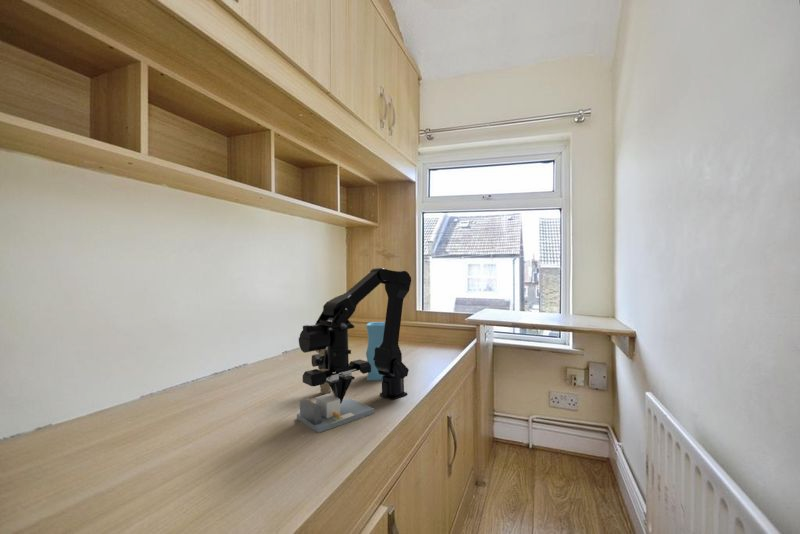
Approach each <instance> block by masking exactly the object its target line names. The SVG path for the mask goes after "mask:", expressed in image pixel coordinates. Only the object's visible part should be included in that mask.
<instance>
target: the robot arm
mask: <svg viewBox="0 0 800 534" xmlns="http://www.w3.org/2000/svg"><path fill="white" fill-rule="evenodd" d="M380 284H383V285H384V289H385V290H384V291H385V292H386V295H387V306H386V312H385V313H386V314H385V320H384V322H385V328H384V336H383V342H382V344H381V345H380V347H379V348H378V347H376V348H375V355H374V359H373V360H374V364H375V366H376V368H377V370H378V373H379V374H380V375H384V376H382V380H381V392H379V396H381V397H382V396H383V397H384V398H386V399H390V400H396V399H399V398H401V397H405V396H408V392H406V391H405V378H406V377H408V375H409V371H410V370H409V368H408V367H407V366H406V365H405V364H404V363H403V361H402V359H403V358H402V357H403V356H402V354H403V353H402V350H401V348H400V345H399V338H400V333H401V332H400V331H401V323H402V314H403V304H404V299H405V298H406V296H407V295H408V293H409V291H410V288H411V284H412V277H411V275H410V274H409V272H408V271H406V270H397V271H396V270H391V269H390V270H389V269H387V268H384V267H376V268H372V269H371V270H370V272H369V273H367V274H366V275H365V276H364V277H363V278H362V279H360V280H359V281H358V282H357V283H355V284H354V285H353V286H352V287H351V288H350V289H348V290H347V291H346V292H345V293H343V294H341V295H338V296H335V297H334V298H332V299H330V300H328V301H326V302H325V304H324V305H323V307H322V312H321V313H320V315H319V317H318V319H317V320H316V322H315V324H311V325H309V324H306V325H302V330H301V332H300V334H299V337H298V344H299V347H300V350H301V352H302V353H312V352H316V351H317V350H322V349H326V348H327V350H325V355H324V356H320V354H319V353H316V354H313V355H311V365H312V367H313V369H310V370H305V371H304V373H303V374H302V383H304V384H305V385H307V386H310V387H317V386H320V385H322V384H324V383H325V382H327V383H328V384H329V385H330V388H331V392H332V393H333V394H332V395H333V396H335V397H337V398H339V399H340V404H341V403H342V400H344V397H345V395H346V393H347V391H348V389H349V387H350V385H351V383H352V381H353V380H355V379H356V378H355V376H353V374H352V373H354V372H357V371H359V372H360V373H361V374H362V375H365V374H368V373H369V372H371V365H370V363H369V362H368V361H367V360H363V359H355V360H351V361H349V359H350V358H349V355H351V354H352V350H351V349H349V330H350V329H354V328H355V325H354V324H352V323H351V322H350V318H351V317H352V316H353V315H354V313H355V311H356V308H357V306H358V304H359V303H361V301H362V300H364V299H365V298H366V297H367V296H368V295H369V294H370V293H372V292H373V291H374V290H375V289H376V288H377V287H378V286H379V285H380ZM315 367H317V368H315ZM314 368H315V369H314ZM322 368H323V369H328V371H320V370H319V369H322Z"/></svg>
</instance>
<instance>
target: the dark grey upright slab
mask: <svg viewBox="0 0 800 534" xmlns="http://www.w3.org/2000/svg"><path fill="white" fill-rule="evenodd" d="M299 413H300V417H302V418H304V419H305V420H307V421H308V422H310V423H311V424H313V425H318V424H320V423H322V409H321V406H319V405H317V404H316V402H313V401H311V400H310V399H308V398H306V399H303V400H299Z"/></svg>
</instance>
